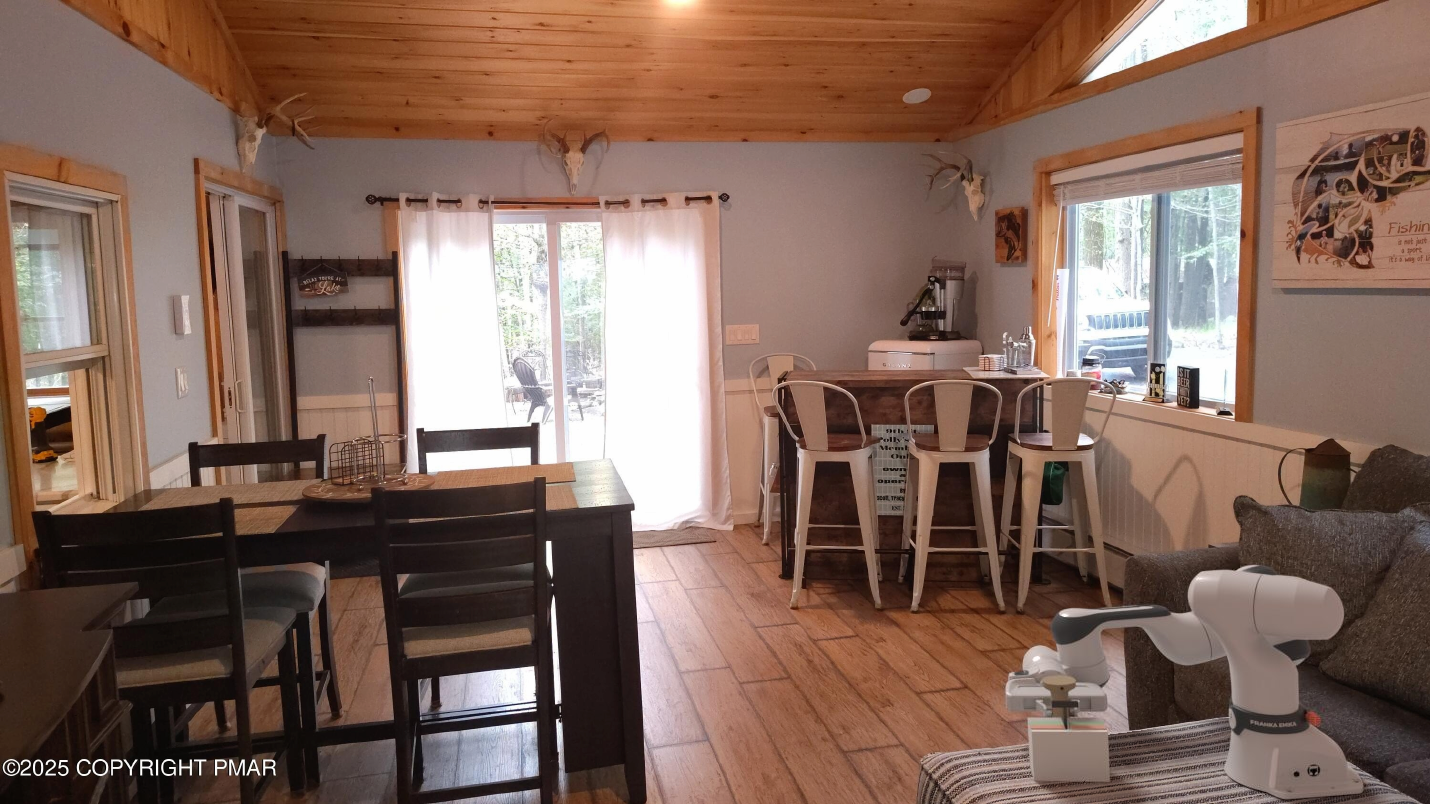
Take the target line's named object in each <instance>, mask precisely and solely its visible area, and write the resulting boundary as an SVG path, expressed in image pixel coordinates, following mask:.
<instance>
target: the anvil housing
mask: <svg viewBox="0 0 1430 804" xmlns="http://www.w3.org/2000/svg"><path fill="white" fill-rule="evenodd" d="M1067 722H1068V729H1065V726H1064V724H1063V721H1062V719H1061V718H1051V717H1027V733H1028V755H1029V757H1028V759H1029V767H1030V771H1031V775H1032V778H1033V781H1034V782H1083V783H1084V781H1085V782H1087V783H1088V782H1090V783H1091V782H1093V783H1094V782H1095V783H1097V782H1098V783H1101V782H1102V783H1110V782H1111V778H1110V777H1111V776H1110V754H1109V753H1110V751H1109V747H1110V746H1109V732H1108V731H1109V730H1108V729H1107V726H1106V724H1105V722H1104V721H1103V718H1102V717H1070V718H1067Z"/></svg>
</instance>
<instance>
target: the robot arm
mask: <svg viewBox="0 0 1430 804" xmlns="http://www.w3.org/2000/svg"><path fill="white" fill-rule="evenodd" d="M1187 601H1188V606H1189V607H1190V610H1191V611H1189V612H1183V613H1176V612H1171V611H1170V610H1169V609H1168V608H1167V607H1165V606H1164V605H1163V606H1162V605H1158V604H1132V605H1131V604H1130V605H1120V606H1107V607H1104V606H1103V607H1094V608H1093V607H1092V608H1091V607H1090V608H1089V607H1071V608H1064V609H1061V610H1059V611H1058V612H1057V613H1056V614H1055V616H1054V617H1053V619H1052V620H1051V623H1050V624H1049V625H1050V626H1049V628H1050V632H1051V634H1052V637H1053V641H1054V642H1055V645H1056V649H1057V651H1055V650H1053V649H1051V648H1050V647H1048V646H1045V645H1041V644H1040V645H1039V644H1038V645H1035V646H1033V647H1031V648H1030V649H1028V650H1027V651H1026V653H1025V654H1024V656H1023V660H1022V670H1018V671H1014V672H1013V671H1012V672H1009V673H1008V678H1007V682H1006V685H1005V706H1006V707H1005V708H1006V710H1007V711H1010V712H1013V713H1014V712H1038V713H1039V714H1042V715H1043V718H1051V717H1052V709H1051V693H1050V691H1049V690H1047V689H1045V688H1044V687H1043V684H1042V679H1043V678H1044V677H1048V676H1057V675H1061V676H1070V677H1073V678H1074V679H1075V680H1076V687H1075V688H1074V689H1072V690H1070V691H1069V692H1068V700H1069V701H1078V708H1069V710H1070V718H1079V716H1078V713H1081V712H1092V713H1093V712H1096V713H1097V712H1098V713H1101V712H1105V711H1107V710H1108V695H1107V693H1106V692H1105V691H1104V689H1103V688H1104V687H1105V686H1106V685H1107V683H1108V682H1109V680H1110V678H1111V674H1110V670H1109V667H1108V666H1109V665H1108V660H1107V657H1106V654H1105V650H1104V645H1103V642H1102V636H1101V633H1102V631H1103V630H1106V629H1119V628H1120V629H1121V628H1130V627H1131V628H1133V627H1139V628H1142V629H1143V630H1144V632H1145V633H1146V634H1147V636H1149V638H1150V639H1151V641H1152V642H1153V644H1154V645H1155V647H1156V649H1158V650H1159V652H1160V653H1162V655H1163V656H1165V657H1166V658H1167V659H1168V660H1170V661H1171V662H1172V663H1175V664H1178V665H1181V666H1192V665H1193V666H1194V665H1198V664H1202V663H1207V662H1211V661H1214V660H1216V659H1218V660H1219V658H1224V657H1227V661H1228V664H1229V665H1228V666H1229V674H1230V683H1231V697H1230V698H1229V707H1228V722H1229V727H1230V731H1231V732H1230V740H1229V749H1228V753H1227V757H1226V760H1225V763H1224V767H1223V768H1224V772H1225V773H1226V775H1227V776H1228V777H1229V778H1230V779H1232V780H1233V781H1235V782H1237V783H1239V784H1240V785H1243V786H1246V787H1248V788H1250V789H1254V790H1259V791H1262V792H1266V793H1267V794H1269V795H1272V796H1274V797H1277V798H1279V799H1283V800H1292V799H1293V800H1295V799H1305V798H1307V799H1308V798H1317V797H1319V798H1320V797H1331V796H1332V797H1333V796H1343V795H1355V794H1357V795H1358V794H1362V793H1363V792H1364V782H1363V780H1362V778H1361V776H1360V775H1359V774H1358V772H1357V771H1356V770H1355V769H1354V768H1353V767H1352V766H1350V765H1349V763H1348V762H1347V758H1346V756H1345V754H1344V751H1343V750H1342V748H1341V747H1340V746H1339V745H1338V743H1337V742H1336V741H1334V739H1332V738H1331V737H1330V736H1328V735H1327V734H1326V733H1324V732H1323V731H1322V730H1320V729H1318V728H1317V726H1319V725H1320V724H1321V723H1322V722H1321V721H1322V720H1321V717H1320V716H1319V715H1317V713H1316V712H1314V711H1311V710H1310V708H1309V707H1307V706H1305V705H1304V704H1302V703H1301V702H1300V699H1299V698H1300V697H1299V672H1298V669H1297V666H1298V665H1300V664H1301V663H1302V662H1304V661H1305V660H1306V659H1308V658H1309V656H1310V655H1311V646H1310V642H1309V640H1312V641H1316V640H1319V641H1321V640H1330V639H1331V638H1332V637H1333V636H1335V635H1336V634H1337V633H1338V632H1339V630H1340V629H1341V627H1342V625H1343V622H1344V618H1345V617H1344V616H1345V610H1344V609H1345V608H1344V605H1343V602H1342V600H1341V598H1340V596H1339V595H1338V593H1337V592H1336V591H1335V590H1334V589H1333V587H1330V586H1327V585H1324V584H1321V583H1317V582H1316V581H1312V580H1311V581H1310V580H1308V579H1305V578H1302V577H1299V576H1293V575H1284V574H1282V573H1278V572H1276V571H1275V570H1274V569H1273V568H1272V567H1270V566H1267V565H1265V564H1261V565H1258V564H1252V565H1244V566H1241V567H1240V568H1238V569H1237V570H1232V569H1216V570H1214V569H1213V570H1204V571H1200V572H1199V573H1198V574H1196V575H1195V576H1194V577H1193V579H1192V580H1191V582H1190V584H1189V587H1188V590H1187Z"/></svg>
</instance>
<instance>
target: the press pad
mask: <svg viewBox="0 0 1430 804" xmlns="http://www.w3.org/2000/svg"><path fill="white" fill-rule="evenodd" d="M1051 707H1052V708H1063V718H1064V726H1065V729H1068V726H1067V708H1078V701H1051Z"/></svg>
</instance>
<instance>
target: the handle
mask: <svg viewBox="0 0 1430 804" xmlns="http://www.w3.org/2000/svg"><path fill="white" fill-rule="evenodd" d="M1042 684H1043V687H1044V688H1045V689H1047V690H1049V691H1050V693H1051V701H1069V700H1068V692H1069V691H1070V690H1072V689H1074V688H1075V687H1076V680H1075V679H1074V678H1073V677H1070V676H1061V675H1057V676H1048V677H1044V678H1043V679H1042ZM1051 709H1052V717H1050V718H1061V719H1062V721H1063V724H1064V718H1063V708H1052V707H1051ZM1067 718H1071V717H1070V710H1069V708H1067ZM1067 726H1068V722H1067Z"/></svg>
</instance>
